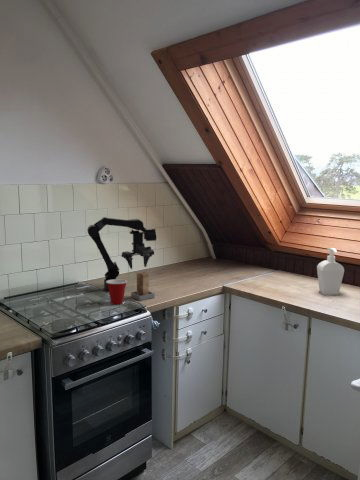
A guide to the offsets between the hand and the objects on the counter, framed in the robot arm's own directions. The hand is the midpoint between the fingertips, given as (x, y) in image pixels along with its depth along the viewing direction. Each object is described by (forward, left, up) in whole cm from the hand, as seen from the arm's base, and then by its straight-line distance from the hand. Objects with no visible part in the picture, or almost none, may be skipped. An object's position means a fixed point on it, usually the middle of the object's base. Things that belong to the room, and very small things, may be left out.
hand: (138, 268), depth 242 cm
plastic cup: (-23, -17, -12) cm, 31 cm away
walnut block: (-7, -17, -12) cm, 21 cm away
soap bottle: (+82, -71, -12) cm, 109 cm away
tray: (-7, -17, -12) cm, 22 cm away
